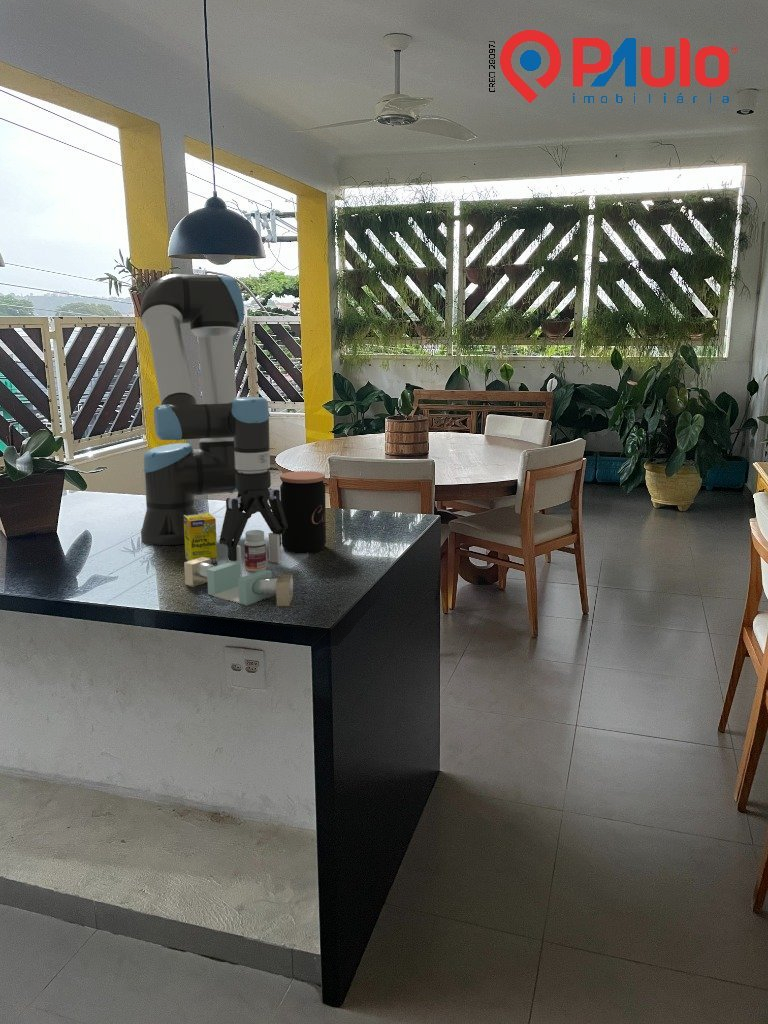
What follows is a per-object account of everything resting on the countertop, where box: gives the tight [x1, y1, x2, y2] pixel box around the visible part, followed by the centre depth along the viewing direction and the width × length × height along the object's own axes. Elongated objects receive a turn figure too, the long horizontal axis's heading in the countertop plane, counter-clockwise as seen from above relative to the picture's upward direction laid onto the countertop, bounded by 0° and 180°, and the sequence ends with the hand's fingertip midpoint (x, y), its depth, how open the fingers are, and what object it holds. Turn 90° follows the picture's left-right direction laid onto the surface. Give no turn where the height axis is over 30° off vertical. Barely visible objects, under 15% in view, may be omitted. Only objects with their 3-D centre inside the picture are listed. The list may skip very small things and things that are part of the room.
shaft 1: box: [183, 557, 217, 588], centre depth 157 cm, size 9×5×5 cm, turn 53°
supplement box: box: [184, 512, 218, 566], centre depth 171 cm, size 6×6×11 cm
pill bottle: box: [243, 529, 268, 573], centre depth 168 cm, size 5×5×8 cm
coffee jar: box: [279, 470, 327, 555], centre depth 182 cm, size 11×11×18 cm
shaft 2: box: [252, 573, 294, 607], centre depth 148 cm, size 8×5×5 cm, turn 88°
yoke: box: [207, 561, 273, 607], centre depth 151 cm, size 11×7×5 cm, turn 53°
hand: (256, 567), depth 168 cm, fingers open, 11 cm apart
